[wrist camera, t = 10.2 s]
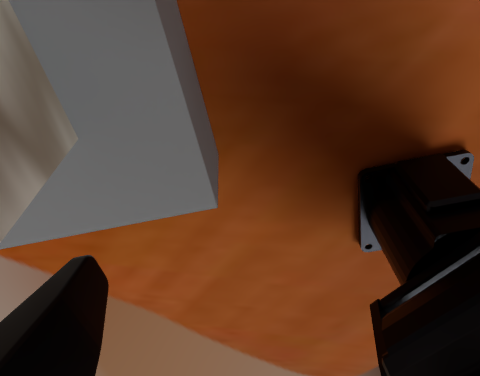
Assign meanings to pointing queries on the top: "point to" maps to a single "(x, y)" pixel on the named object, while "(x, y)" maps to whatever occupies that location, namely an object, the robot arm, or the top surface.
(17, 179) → the cream block
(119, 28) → the plinth
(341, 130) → the top surface
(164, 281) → the top surface
